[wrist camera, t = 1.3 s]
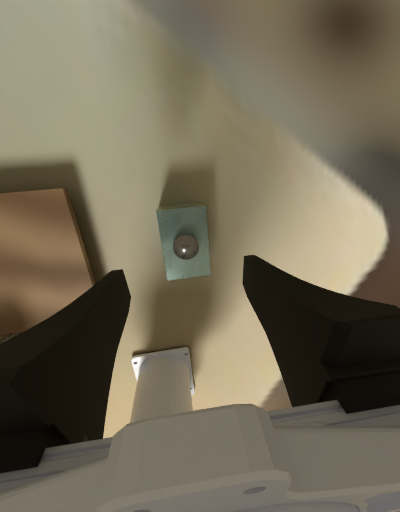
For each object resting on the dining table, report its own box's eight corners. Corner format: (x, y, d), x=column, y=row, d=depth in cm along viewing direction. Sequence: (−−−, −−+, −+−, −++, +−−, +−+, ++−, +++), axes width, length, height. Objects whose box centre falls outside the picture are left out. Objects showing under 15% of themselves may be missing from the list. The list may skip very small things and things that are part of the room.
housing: (204, 260, 24) (212, 278, 20) (167, 265, 24) (167, 284, 19) (200, 202, 22) (207, 206, 17) (158, 206, 21) (155, 212, 17)
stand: (109, 307, 24) (103, 320, 22) (-14, 324, 23) (-36, 340, 21) (75, 187, 19) (62, 188, 17) (-85, 200, 18) (-124, 203, 16)
